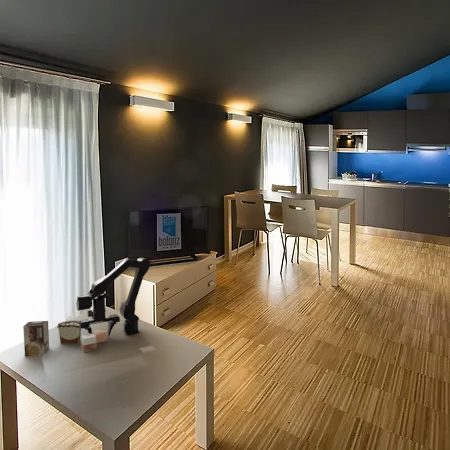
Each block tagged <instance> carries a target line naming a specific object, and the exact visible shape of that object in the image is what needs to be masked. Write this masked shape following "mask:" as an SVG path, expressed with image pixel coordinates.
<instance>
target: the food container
mask: <svg viewBox="0 0 450 450" xmlns="http://www.w3.org/2000/svg"><path fill="white" fill-rule="evenodd" d="M79 321H80V320H67V321H66V320H65V321H62V322H59V323H57V329H58V334H59V342H60V344H66V345H77V346H78V345H81V333H82V329H81V328H80V325H79Z"/></svg>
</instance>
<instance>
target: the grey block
mask: <svg viewBox="0 0 450 450" xmlns="http://www.w3.org/2000/svg"><path fill="white" fill-rule="evenodd" d="M81 342H82V343H83V345H88V344H93V343H96V336H95V335H94V332H92V333H91V334H89V333H86V334H82V335H81V337H80V343H81Z"/></svg>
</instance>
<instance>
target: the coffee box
mask: <svg viewBox="0 0 450 450" xmlns="http://www.w3.org/2000/svg"><path fill="white" fill-rule="evenodd" d="M22 329H23V343H24V344H23V345H24V357H42V354H46V353H47V352H48V351H49V350H50V335H49V334H50V333H49V320H39V321H34V320H33V321H28V322H27V323H26V324H24V325H23V326H22Z"/></svg>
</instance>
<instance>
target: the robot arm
mask: <svg viewBox="0 0 450 450" xmlns="http://www.w3.org/2000/svg"><path fill="white" fill-rule="evenodd" d="M150 267H151V261H150V260H149V259H147V258H145V257H139V258H124V259H123V260H122V261H121V262H120V263H119V264H118V265H116V267H115V268H113V269H112V270H111V271H110V272H109V273H107V275H105V276H103V277H101V278H98V279H97V280H95V281H94V282H93V283H92V284H91V289H90V290H89V291H88V292H87V295H77V298H76V302H75V303H76V305H75V306H76V310H77V311H78V312H79V311H85V310H87V317H88V318H91V319H92V320H89V319H88V318H86V319H85V318H84V319H80V320H78V321H79V325H80V328H81V330H83V329H84V330H85V331H87V332H88V333H87V334H91V333H93V329H92V326H91V325H96V324H100V323H101V324H102V323H106V322H107V337H110V335H111V333H112V330H113V329H114V327H115V325H117V323H120V322H121V320H120V319H121V317H122V318H124V323H123V332H124V333H125V334H126V335H132V334H136V333H140V330H139V320H140V317H139V316H138V315H136V314H135V313H136V302H137V298H138V294H139V292H140V290H141V285H142V282H143V280H144V277H145V275H146V274H147V273H148V271H149V270H150ZM129 268H134V271H135V272H134V277H133V280H132V282H131V286H130V289H129V292H128V295H127V298H126V300H125V301H124V302H123V301H122V302H121V304H120V308H119V314H120V315H121V317H120V316H119V315H118V314H117V313H114V314H110V315H108V317H106V312H107V310H106V299H107V298H108V299H109V298H110V296H109V295H108V293H106V291H107V290H108V289H109V288H110V286H111V284H112V283H113V282H114V281H115V280H117V278H119V277H120V276H121V275H122V274H123V273H124V272H126V271H127V270H128V269H129ZM91 308H92V310H91Z"/></svg>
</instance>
